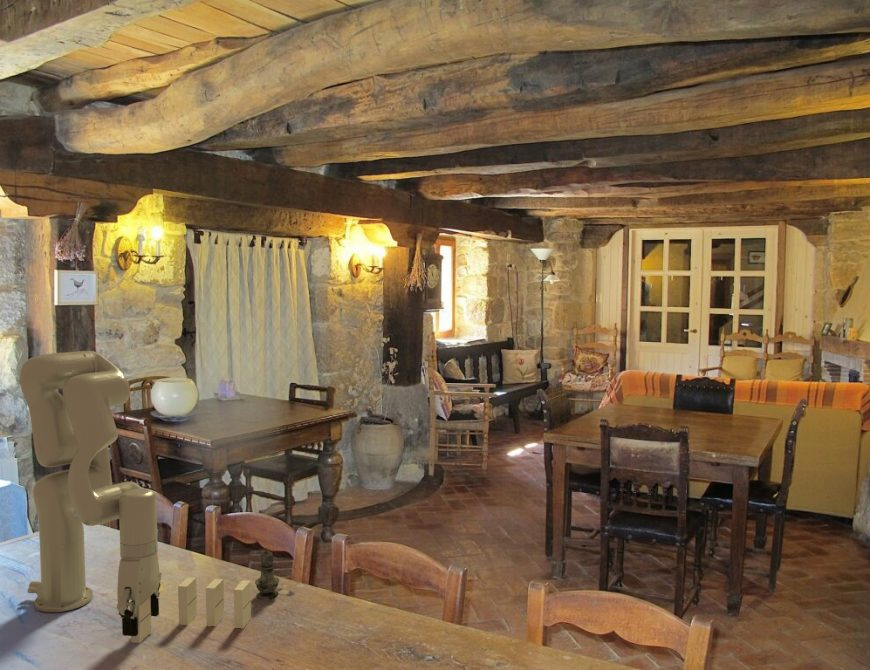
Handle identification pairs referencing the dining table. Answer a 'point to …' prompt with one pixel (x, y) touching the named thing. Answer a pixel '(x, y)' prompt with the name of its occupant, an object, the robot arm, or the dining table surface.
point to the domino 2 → (187, 600)
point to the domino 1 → (142, 620)
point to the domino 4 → (242, 604)
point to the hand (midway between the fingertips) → (141, 624)
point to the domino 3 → (214, 602)
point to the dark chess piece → (267, 578)
